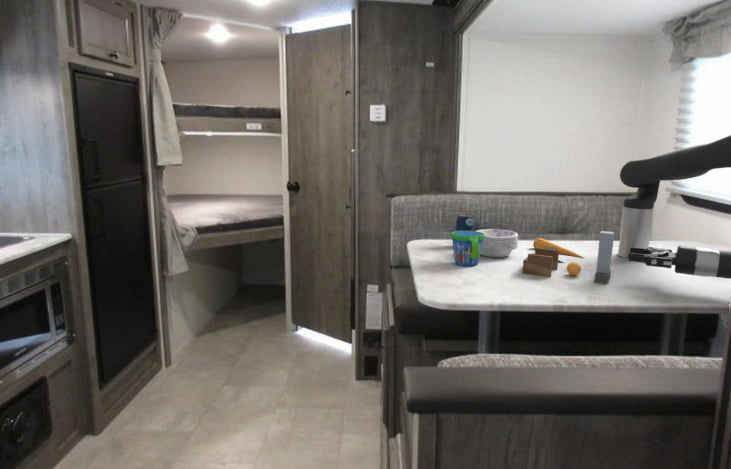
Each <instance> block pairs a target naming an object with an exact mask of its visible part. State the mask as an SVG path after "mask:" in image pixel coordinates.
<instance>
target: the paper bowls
mask: <svg viewBox="0 0 731 469" xmlns="http://www.w3.org/2000/svg"><path fill="white" fill-rule="evenodd" d="M476 231H477V232H482V233H484V235H485V238H484V240H483V242H482V248H481V253H480V255H482V256H485V257H490V258H505V257H508V256H510V255H511V253H512V251H513V250H516V249H517V248H518V244H519V233H517V231H516V232H515V231H513V230H508V229H498V228H485V229H478V230H476Z"/></svg>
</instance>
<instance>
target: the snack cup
mask: <svg viewBox="0 0 731 469" xmlns="http://www.w3.org/2000/svg"><path fill="white" fill-rule="evenodd" d="M450 237H451V240H452V249H453V257H454V263H455V264H457V265H459V266H463V267H472V266H477V265H478V264H479V261H480V258H481V257H480V256H481V254H480V253H481V248H482V242H483V240H484V238H485V235H484V233H482V232H477V230H475V231H456V230H455V231H451V233H450Z"/></svg>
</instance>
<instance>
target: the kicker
mask: <svg viewBox="0 0 731 469" xmlns="http://www.w3.org/2000/svg"><path fill="white" fill-rule="evenodd" d="M614 238H615V231H607V230H606V231H605V230H601V231H600V233H599V239H598V240H599V243H598V250H597V262H596V270H595V274H594V280H593V281H594V282H593V283H598V284H603V285H604V284H605V285H608V283H609V281H610V278H611V274H612V273H611V271H612V268H611V266H612V258H613V250H614V249H613V247H614Z"/></svg>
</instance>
